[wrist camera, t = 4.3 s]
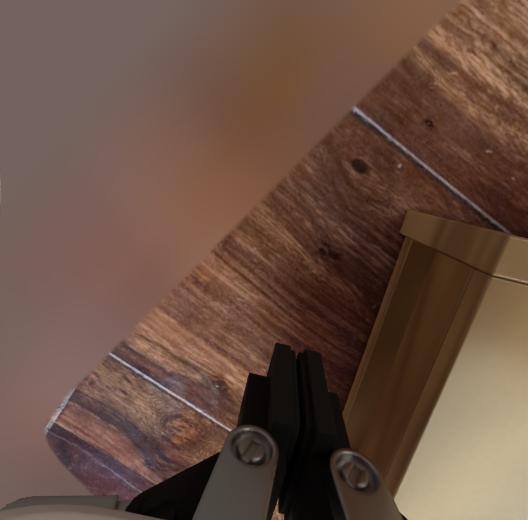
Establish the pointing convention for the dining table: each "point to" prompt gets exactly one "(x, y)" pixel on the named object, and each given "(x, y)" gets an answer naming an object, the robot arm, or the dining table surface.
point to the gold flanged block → (449, 375)
